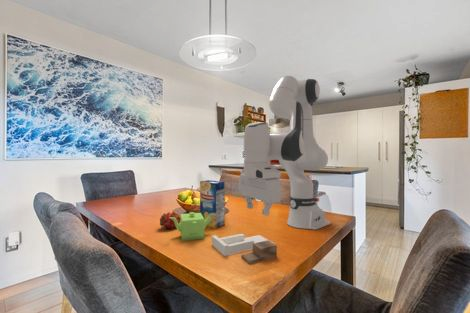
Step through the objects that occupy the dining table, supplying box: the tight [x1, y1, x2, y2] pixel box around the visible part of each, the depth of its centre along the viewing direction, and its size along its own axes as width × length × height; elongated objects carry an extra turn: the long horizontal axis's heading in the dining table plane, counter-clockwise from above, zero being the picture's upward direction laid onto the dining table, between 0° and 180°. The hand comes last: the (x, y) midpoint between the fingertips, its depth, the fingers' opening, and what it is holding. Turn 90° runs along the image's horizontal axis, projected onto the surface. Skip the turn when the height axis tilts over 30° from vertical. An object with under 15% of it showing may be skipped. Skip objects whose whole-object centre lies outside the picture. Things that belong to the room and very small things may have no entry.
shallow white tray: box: [211, 233, 274, 257], centre depth 91 cm, size 22×11×5 cm, turn 119°
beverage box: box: [199, 179, 226, 229], centre depth 120 cm, size 7×11×22 cm, turn 53°
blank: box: [241, 239, 278, 265], centre depth 80 cm, size 11×5×4 cm, turn 119°
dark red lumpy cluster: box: [159, 211, 181, 230], centre depth 115 cm, size 8×8×12 cm
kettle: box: [169, 211, 211, 242], centre depth 101 cm, size 15×14×11 cm
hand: (257, 211), depth 79 cm, fingers open, 8 cm apart
